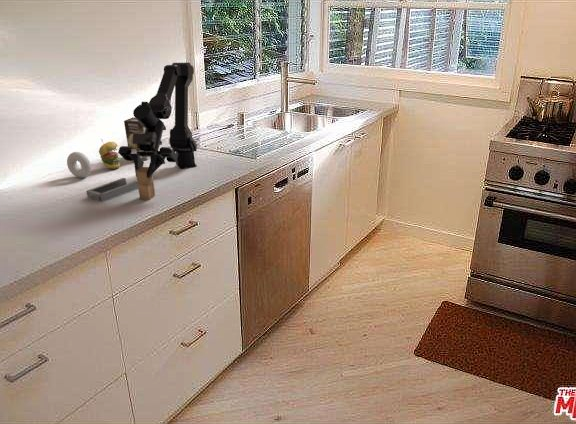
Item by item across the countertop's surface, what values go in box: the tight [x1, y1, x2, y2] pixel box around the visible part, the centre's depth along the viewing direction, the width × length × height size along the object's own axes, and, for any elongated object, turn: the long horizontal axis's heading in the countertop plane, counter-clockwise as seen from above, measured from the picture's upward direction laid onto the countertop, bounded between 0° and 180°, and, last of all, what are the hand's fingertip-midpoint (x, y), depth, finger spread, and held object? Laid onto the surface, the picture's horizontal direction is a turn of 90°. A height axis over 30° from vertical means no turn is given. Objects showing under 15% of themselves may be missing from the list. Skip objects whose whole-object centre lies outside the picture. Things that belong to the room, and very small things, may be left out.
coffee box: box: [123, 116, 151, 161], centre depth 206 cm, size 9×6×16 cm
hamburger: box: [98, 138, 121, 170], centre depth 195 cm, size 8×7×12 cm
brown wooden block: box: [135, 166, 156, 201], centre depth 164 cm, size 4×4×10 cm
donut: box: [66, 151, 92, 179], centre depth 186 cm, size 10×4×10 cm, turn 69°
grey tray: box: [86, 177, 139, 203], centre depth 171 cm, size 15×8×2 cm, turn 144°
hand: (142, 177), depth 162 cm, fingers closed on brown wooden block, 3 cm apart
